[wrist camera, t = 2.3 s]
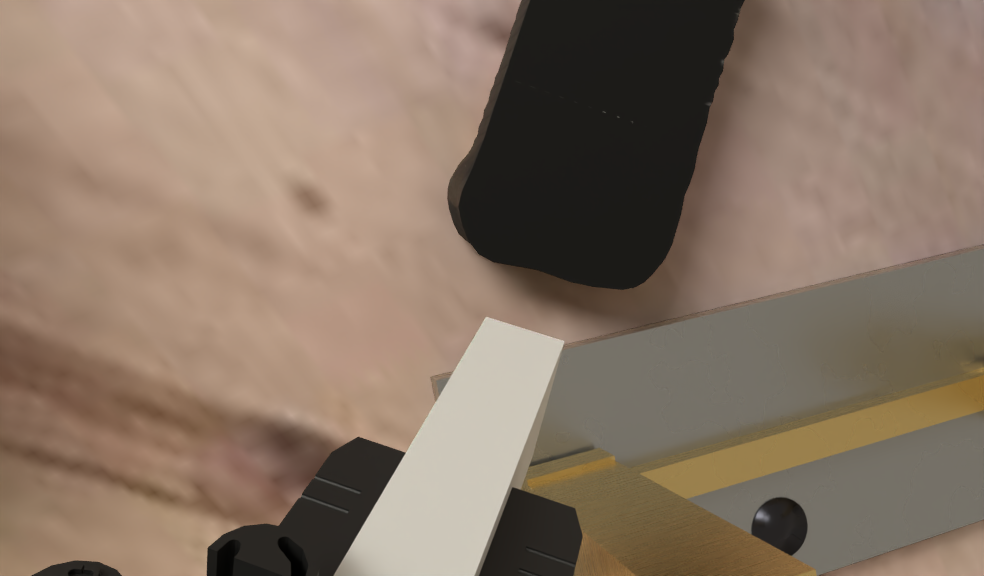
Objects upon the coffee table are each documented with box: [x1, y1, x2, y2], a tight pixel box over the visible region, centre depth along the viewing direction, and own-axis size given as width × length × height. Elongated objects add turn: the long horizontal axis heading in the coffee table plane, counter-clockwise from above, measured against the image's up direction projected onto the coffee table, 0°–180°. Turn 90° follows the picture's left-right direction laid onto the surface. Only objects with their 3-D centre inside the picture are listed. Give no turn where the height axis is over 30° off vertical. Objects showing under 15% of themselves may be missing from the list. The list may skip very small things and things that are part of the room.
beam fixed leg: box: [630, 367, 984, 499], centre depth 28 cm, size 6×27×15 cm, turn 102°
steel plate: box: [431, 245, 984, 576], centre depth 36 cm, size 12×30×1 cm, turn 102°
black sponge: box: [448, 0, 745, 290], centre depth 32 cm, size 16×8×4 cm, turn 161°
